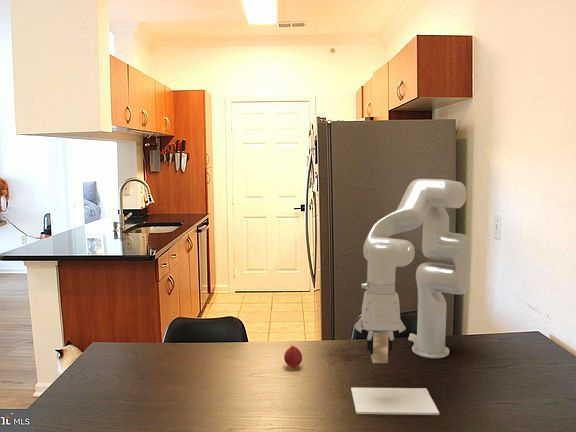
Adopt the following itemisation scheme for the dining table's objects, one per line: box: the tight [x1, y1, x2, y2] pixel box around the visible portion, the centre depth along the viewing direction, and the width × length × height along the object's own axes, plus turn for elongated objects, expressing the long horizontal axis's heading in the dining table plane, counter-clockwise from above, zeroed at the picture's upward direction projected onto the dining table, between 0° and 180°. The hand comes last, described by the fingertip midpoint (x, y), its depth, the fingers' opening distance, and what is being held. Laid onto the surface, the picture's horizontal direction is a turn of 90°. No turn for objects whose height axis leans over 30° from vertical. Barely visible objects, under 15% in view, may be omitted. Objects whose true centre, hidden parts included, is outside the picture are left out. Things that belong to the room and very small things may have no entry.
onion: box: [283, 344, 303, 369], centre depth 162 cm, size 6×6×8 cm
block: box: [370, 331, 389, 364], centre depth 138 cm, size 4×4×10 cm
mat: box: [350, 387, 440, 416], centre depth 140 cm, size 22×14×1 cm, turn 89°
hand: (379, 351), depth 139 cm, fingers closed on block, 4 cm apart
